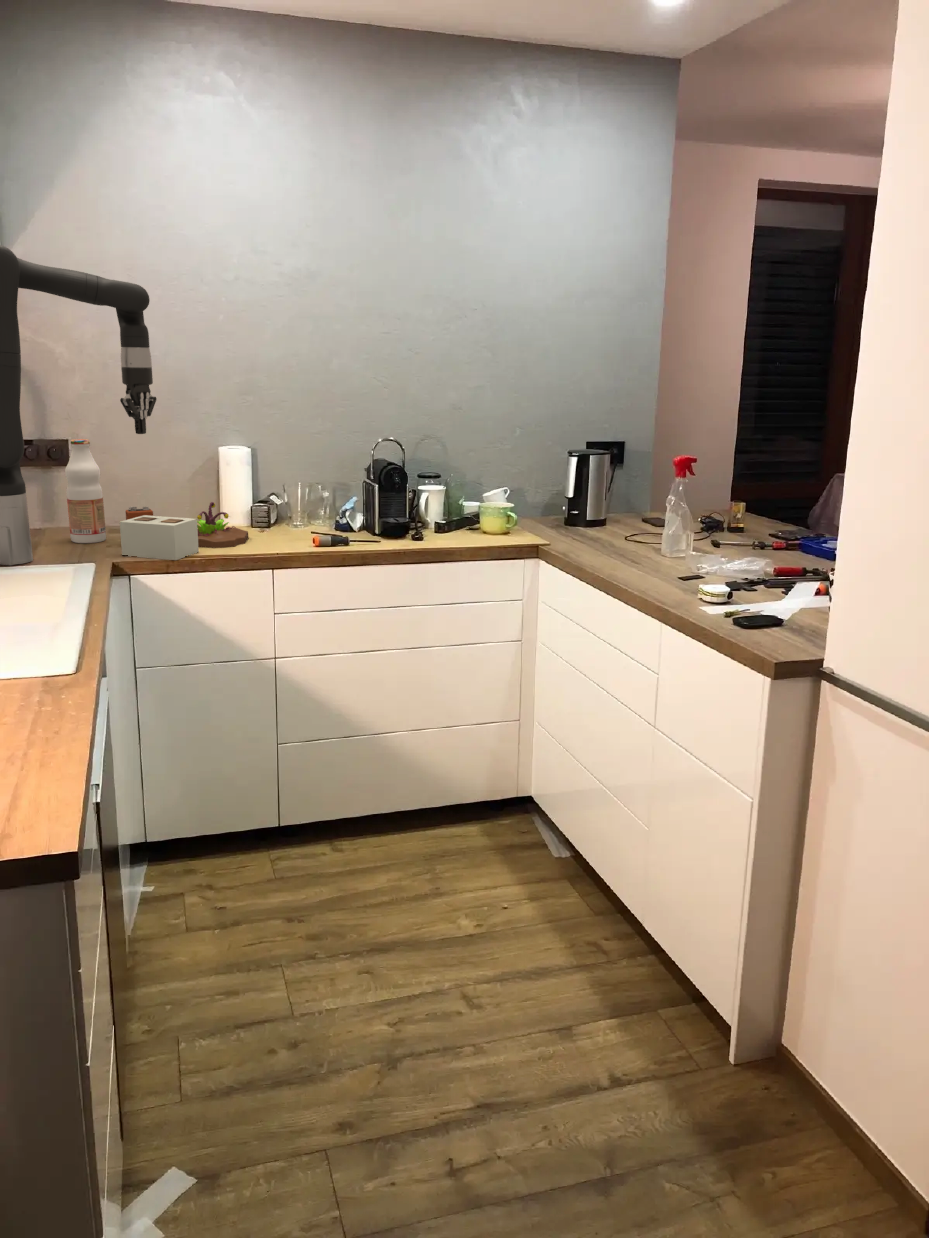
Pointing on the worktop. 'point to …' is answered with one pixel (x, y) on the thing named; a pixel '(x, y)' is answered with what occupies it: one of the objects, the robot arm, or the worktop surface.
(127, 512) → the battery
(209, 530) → the plant
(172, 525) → the socket block
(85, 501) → the fruit juice
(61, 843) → the worktop surface
